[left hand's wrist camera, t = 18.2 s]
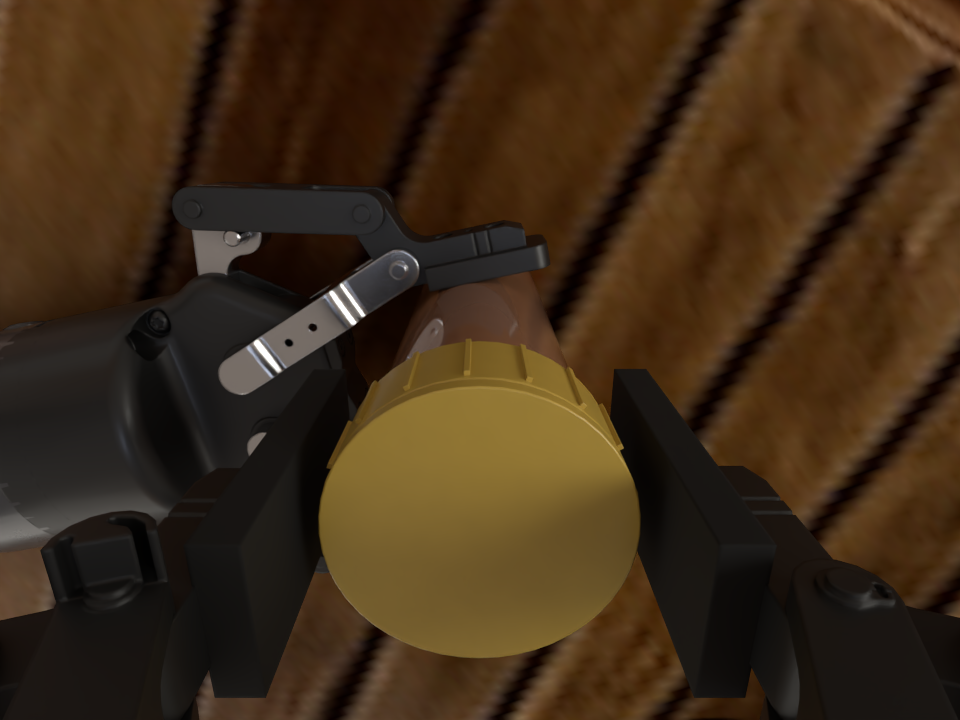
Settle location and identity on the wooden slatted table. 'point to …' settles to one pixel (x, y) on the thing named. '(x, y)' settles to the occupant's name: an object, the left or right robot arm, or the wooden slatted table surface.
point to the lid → (479, 503)
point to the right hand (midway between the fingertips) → (557, 332)
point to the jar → (481, 318)
